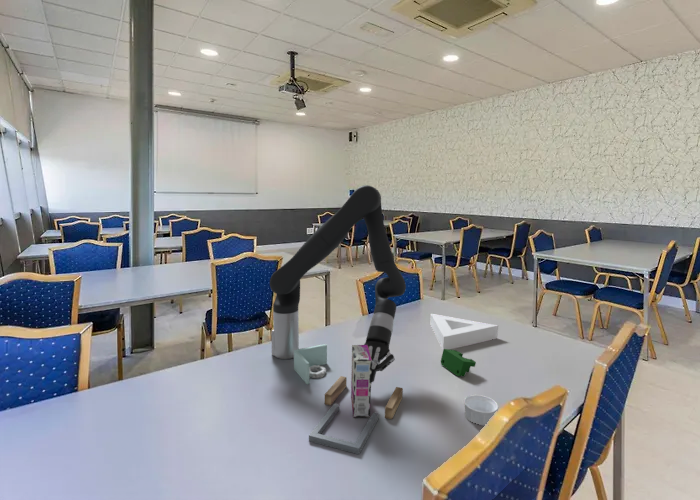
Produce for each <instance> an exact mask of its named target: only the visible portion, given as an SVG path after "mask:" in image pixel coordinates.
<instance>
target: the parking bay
mask: <svg viewBox="0 0 700 500" xmlns="http://www.w3.org/2000/svg"><path fill="white" fill-rule="evenodd" d="M339 411H340V404H338V403H333V404H332V405H331V407H330V408H329V409H328V411H327V412H326V413H325V414H324V416H323V417H322V418H321V420H320V421H319V422H318V423H317V424H316V426H314V428H313V429H312V431H311V432H310V433H309V434H308V442H312V443H316V444H319V445H323V446H325V447H331V448H334V449H337V450H342V451H345V452H349V453H353V454H356V455H360V453H361V452H362V449H364V446H365V444H366V442H367V440H368V438H369V437H370V435H371V433H372V432H373V429H374V428H375V426H376V424H377V422H378V420H379V417H380V416H379V415H380V414H379V412H375V411H373V412H372V414H370V417H369V419H368V421H367V423H366V424H365V426H364V428H363V429H362V430H361V432H360V434H359V436H358V438H357V439H356V441H355V442H353V441H349V440H348V441H347V440H344V439H341V438H337V437H332V436H329V435H325V434H322V433H323V432H324V430H325V429H326V428H327V427H328V425H329V424H330V423H331V421H332V420H333V418H334V417H335V416H336V415H337V413H338V412H339Z"/></svg>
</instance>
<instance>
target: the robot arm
mask: <svg viewBox="0 0 700 500" xmlns="http://www.w3.org/2000/svg"><path fill="white" fill-rule="evenodd" d="M362 219H364V223H365V225H366V229H367V235H368V242H369V243H368V244H369V250H370V254H371V258H372V262H373V266H374V268H375V271H376V272H378V273H384V274H386V275H387V276H386V277H382V278H379V279H378V280H377V281H376V283H375V284H374V285H375V286H374V293H375V305H374V310H373V314H372V317H371V319H370V322H369V327H368V331H367V335H366V339H365V342H364V344H363V345H368V348H369V352H370V356H371V359H372V371H371V384H372V383H374V382H375V379H376V374H377V372H383V371H384V370H385V369H386V368H387V367H388V366H390V365H391V364H392V363H393V362H394V361H396V360H395V356H394V354H393V353H391V351H390V345H391V338H392V333H393V332H394V324H395V323H394V322H395V321H394V320H395V316H396V311H397V304H396V302H395V301H393V300H392V299H389V298H394V297H395V298H397V297H400V296H403V295H404V294H405V292H406V289H407V286H406V281H405V279H404V277H403V275H402V274H401V272H400V270H399V268H398V265H397V264H396V262H395V259H394V255H393V251H392V247H391V245H390V242H389V238H388V235H387V230H386V227H385V223H384V217H383V210H382V195H381V193H380V191H379V190H378V189H377V188H376V187H374V186H372V185H368V184H367V185H366V184H364V185H361V186H359V187H357V188H356V189H355V190H354V191H353V192H352V194H351V195H350V196H349V197H348V199H347V200H346V202H345V203H343V205H342V206H341V208H339V209H338V210H337V211H336V213H334V214H333V215H332V216H331V217H329V218H328V219H327V220H326V221H324V223H323V224H322V225H321V226H320V227H318V228H317V229H316V230H315V231H314V232H313V234H311V236H309V238H308V239H307V240H306V241H305V242H304V243H303V244H302V246H301V247H300V248H299V249H298V250H297V252H296V253H295V254H294V255H293V256H292V257H291V258H290V259H289V260H288V261H287V262H286V263H284V264H283V265H282V266H281V267H280V268H278V269H277V270H276V271H274V272H273V273H272V274H271V275H270V276H271V277H270V278H269V287H270V290H271V291H272V292H273V293H274V294H276V295H275V298H274V301H273V305H272V308H273V309H272V313H273V315H272V316H273V318H272V319H273V329H272V330H271V335H270V337H271V356H274V357H275V358H277V359H280V360H289V359H294V350H297V349H300V348H299V347H300V346H299V344H300V340H299V339H300V337H299V336H300V335H299V333H300V332H299V331H300V328H299V326H300V325H299V321H300V320H299V305H300V300H301V279H302V278H303V277H304V276H305V275H306V274H307V273H308V272H310V270H312V269H313V268H315V267H316V266H317V265H318V264H320V263H321V262H322V261H323V260H325V259H326V258H327V257H328V256H329V255H330V254H332V253H333V252H334V251H335V250H336V249H337V248H338V246H340V244H341V243H342V242H343V241H344V240H345V238H346V237H347V235H348V234H349V233H350V231H351V230H352V228H353V227H354V226H355V225H356V224H357V223H358V222H360V220H362Z"/></svg>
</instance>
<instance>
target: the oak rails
mask: <svg viewBox="0 0 700 500" xmlns="http://www.w3.org/2000/svg"><path fill="white" fill-rule="evenodd" d="M346 387H347V376H343V375H340V376H339V377H338V379H337V380H335V382H334V383H333V384H332V386H330V387H329V389H328V390H327V391H326V392H325V393H324V405H328V406H333V405H334V403H335V401H336V400H337V399H338V397H339V396H340V395H341V394H342V392H343V391H344V390H345V389H346ZM403 392H404V390H403V387H398V386H396V387H395V388H394V391H392V394H391V396H390V397H389V400H388V401H387V403H386V405H385V407H384V418H385V419H389V420H393V418H394V416H395V414H396V412H397V410H398V408H399V406H400V403H402V399H403V396H404V395H403V394H404V393H403Z"/></svg>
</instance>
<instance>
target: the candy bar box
mask: <svg viewBox="0 0 700 500" xmlns="http://www.w3.org/2000/svg"><path fill="white" fill-rule="evenodd" d="M371 371H372V359H371V356H370V352H369V348H368V345H364V344H351V373H350V375H351V378H350V379H351V381H350V399H351V408H352V410H351V411H352V417H353V418H370V417H371V402H372V401H371V398H372V397H371V396H372V392H371V391H372V383H371Z"/></svg>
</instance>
